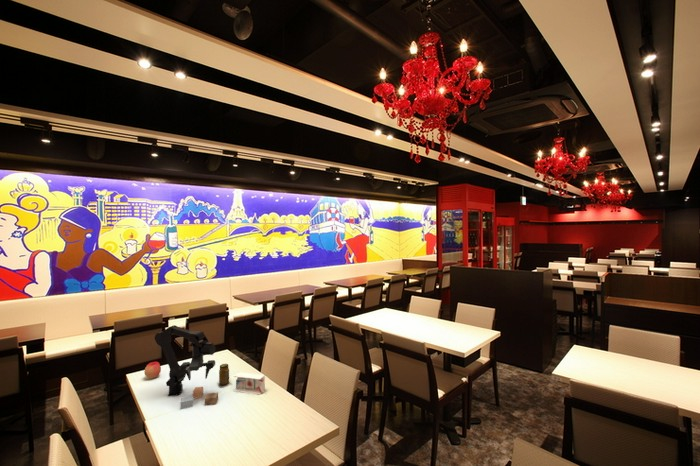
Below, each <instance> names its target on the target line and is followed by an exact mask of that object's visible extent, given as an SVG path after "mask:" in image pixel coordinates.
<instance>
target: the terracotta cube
mask: <svg viewBox="0 0 700 466" xmlns="http://www.w3.org/2000/svg"><path fill="white" fill-rule="evenodd" d="M192 395H193V399H198V398H200V399H201V398H202V397H203V395H204V386H195V387H194V389H192Z"/></svg>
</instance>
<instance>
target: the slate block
mask: <svg viewBox="0 0 700 466" xmlns="http://www.w3.org/2000/svg"><path fill="white" fill-rule="evenodd" d="M193 406H194V398H193V394H192V395H187V396H182V397H180V410H183V409H188V408H193Z"/></svg>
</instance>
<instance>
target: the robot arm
mask: <svg viewBox="0 0 700 466" xmlns="http://www.w3.org/2000/svg"><path fill="white" fill-rule="evenodd" d="M172 335H175V336H178V337H181V338H184V339H187V341H189V342H190V344H189V346H188V347H192V356H191V360H190V361H185V362H183V363H181V364H179V362H178V360H177V359H178V358H177V356H176V354H175V352H174V349H173V347H172V344H171V342H172ZM154 341H155V343H156V344H157V345H158V346H159V347H161V349H162V352H163V355H164V358H165V359H166V362H167V365H168V368H169V374H168V376H169V379H168V380H167V381H165V384H166V387H168V394H167V396H168V397H173V396H180V395H181V393H182V392H183V390H184V387H183V386H184V384H183V381H185V378H186V377H187V379H188V381H191V375H192V371H199V369H200V368H203V367H205V380H207V379H208V376H209V372H210V370H211V369H213V368H214V367H215V366H216V360H214V359H212V360H208V361H207V362H204V355H209V356H213V355H214V354H215V352H216V350H217V349H216V345H215V344H214V342H209V339H208V338H207V336H206V335H205V332H203V331H201V330H191V329H190V330H189V329H186V328H184V327H180V326H177V325H174V324H173V325H172V326H169V327H167V328H166V329H164V330H162V331H159V332H158V333H156V334H155V336H154Z"/></svg>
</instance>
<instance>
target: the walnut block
mask: <svg viewBox="0 0 700 466" xmlns="http://www.w3.org/2000/svg"><path fill="white" fill-rule="evenodd" d="M218 400H219V392H209V393H207V394H206V396H205V397H204V406H212V405H217V403H218Z"/></svg>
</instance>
